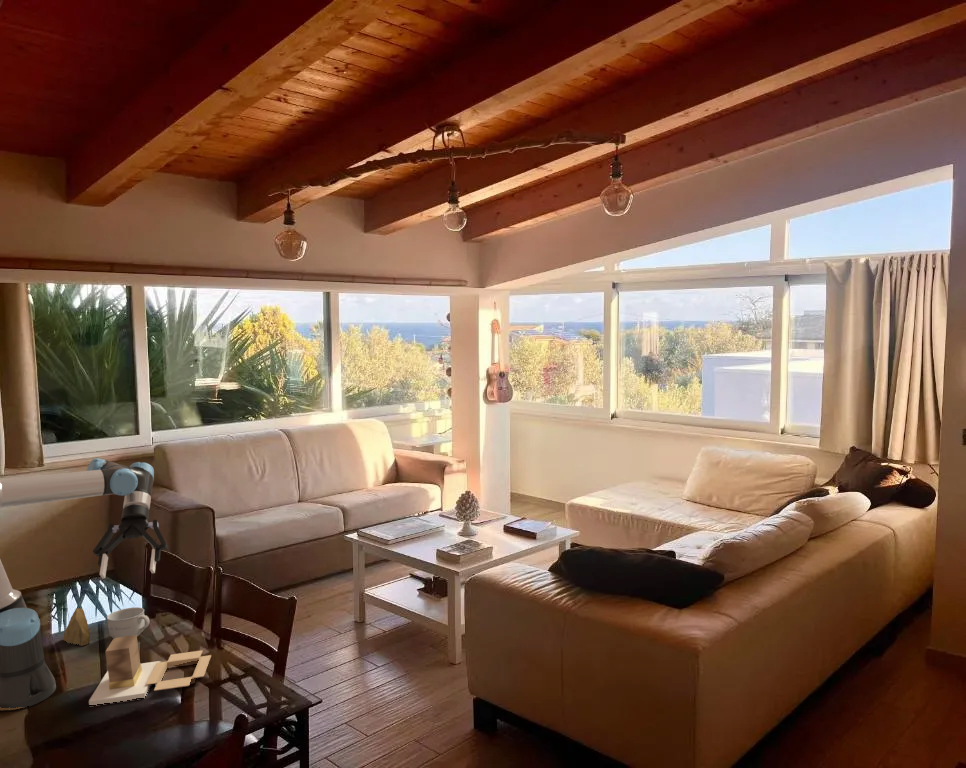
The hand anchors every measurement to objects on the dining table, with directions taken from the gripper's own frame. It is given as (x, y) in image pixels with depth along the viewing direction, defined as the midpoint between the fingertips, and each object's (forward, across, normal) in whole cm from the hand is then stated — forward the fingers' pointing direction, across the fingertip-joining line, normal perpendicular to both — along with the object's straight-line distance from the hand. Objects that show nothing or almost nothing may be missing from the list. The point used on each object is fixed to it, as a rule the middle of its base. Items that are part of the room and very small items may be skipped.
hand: (127, 574), depth 216 cm
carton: (+27, -14, -12) cm, 33 cm away
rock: (+4, +24, -36) cm, 43 cm away
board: (+28, 0, -12) cm, 30 cm away
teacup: (+5, +7, -34) cm, 35 cm away
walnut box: (+27, 0, -11) cm, 29 cm away
